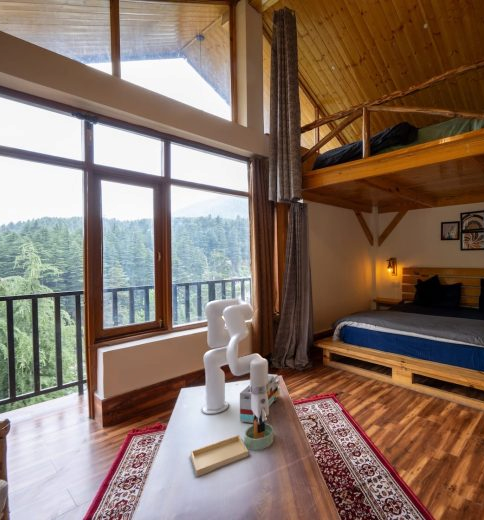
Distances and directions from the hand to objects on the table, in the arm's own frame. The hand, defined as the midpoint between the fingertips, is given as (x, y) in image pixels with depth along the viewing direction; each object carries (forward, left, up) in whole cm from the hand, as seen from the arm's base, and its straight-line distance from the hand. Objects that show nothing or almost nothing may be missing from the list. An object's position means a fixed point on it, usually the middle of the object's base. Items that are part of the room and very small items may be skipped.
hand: (259, 428), depth 130 cm
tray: (0, -16, -6) cm, 18 cm away
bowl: (0, 0, -6) cm, 6 cm away
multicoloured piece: (-27, +11, -6) cm, 30 cm away
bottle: (0, 0, -5) cm, 5 cm away
